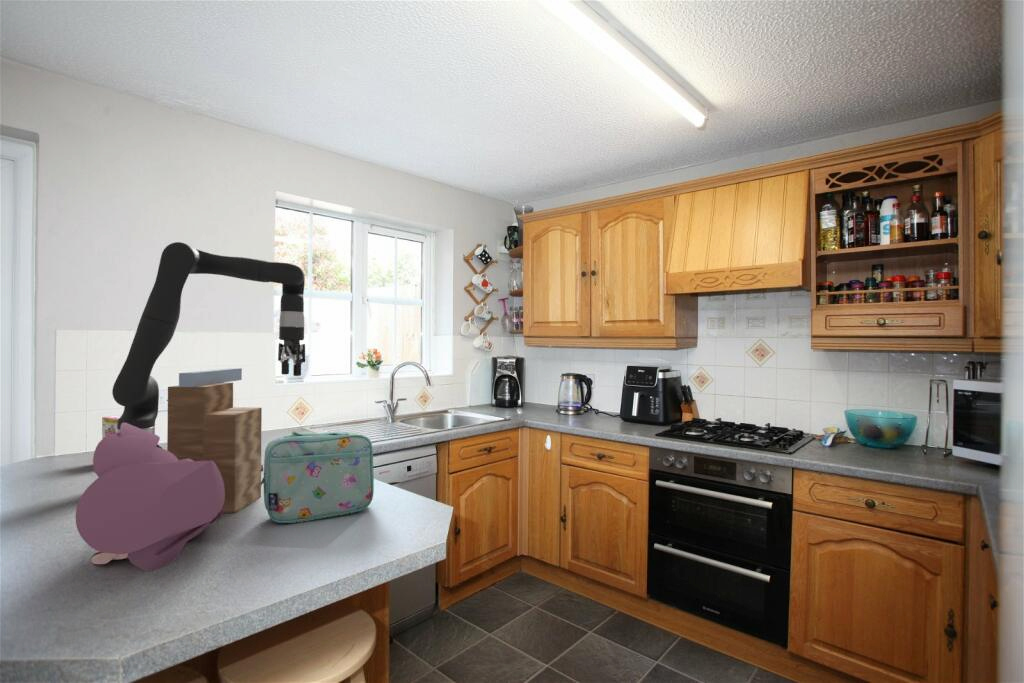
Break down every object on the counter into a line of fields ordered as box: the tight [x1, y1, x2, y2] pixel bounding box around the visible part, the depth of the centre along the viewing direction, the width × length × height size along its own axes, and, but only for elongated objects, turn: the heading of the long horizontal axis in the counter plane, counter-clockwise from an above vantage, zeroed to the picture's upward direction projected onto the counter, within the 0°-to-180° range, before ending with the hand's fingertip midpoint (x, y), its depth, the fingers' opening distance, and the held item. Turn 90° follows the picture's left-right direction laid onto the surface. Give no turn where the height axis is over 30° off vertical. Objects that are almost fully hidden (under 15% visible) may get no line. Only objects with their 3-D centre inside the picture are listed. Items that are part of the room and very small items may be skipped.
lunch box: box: [259, 430, 375, 524], centre depth 128 cm, size 27×10×21 cm, turn 117°
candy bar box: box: [101, 415, 122, 440], centre depth 179 cm, size 11×5×16 cm, turn 65°
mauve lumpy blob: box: [75, 423, 225, 571], centre depth 106 cm, size 36×24×29 cm
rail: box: [178, 367, 243, 387], centre depth 140 cm, size 24×4×4 cm, turn 1°
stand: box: [166, 382, 263, 514], centre depth 136 cm, size 14×17×32 cm
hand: (291, 375), depth 167 cm, fingers open, 8 cm apart
